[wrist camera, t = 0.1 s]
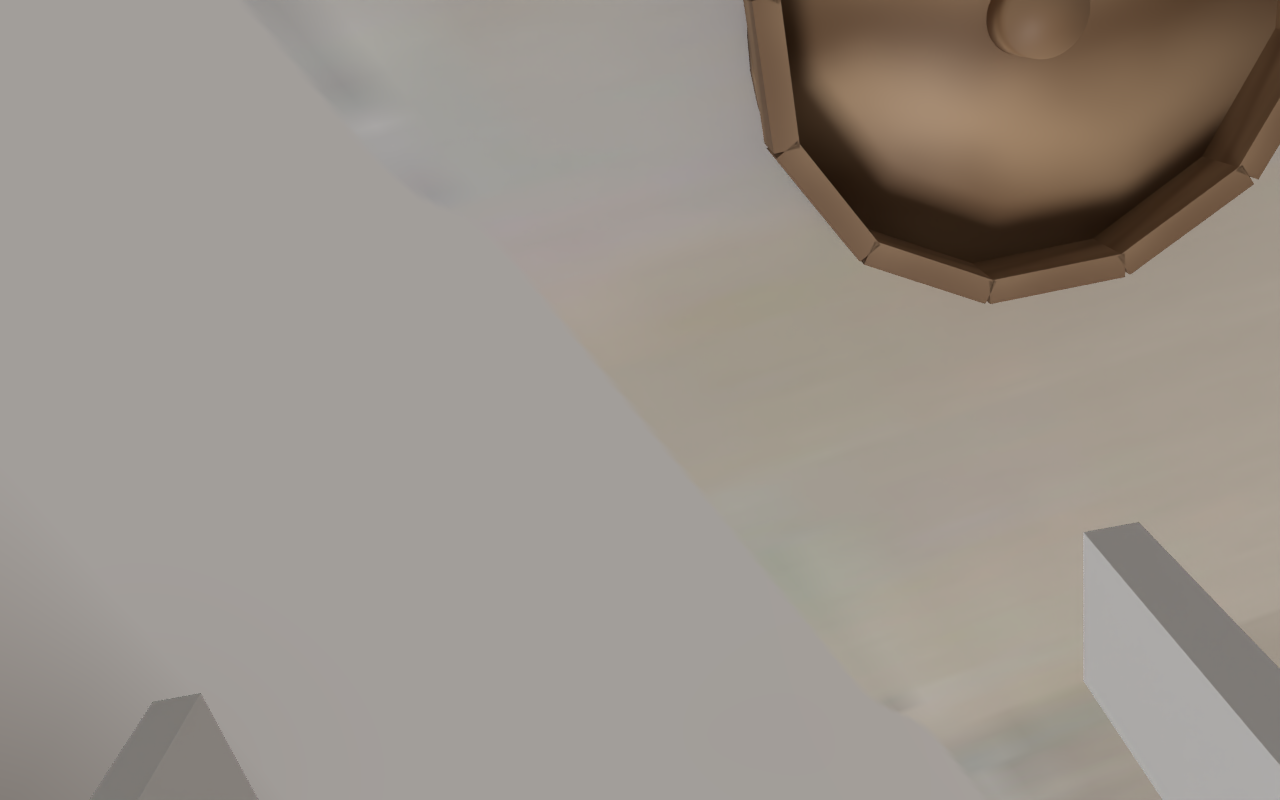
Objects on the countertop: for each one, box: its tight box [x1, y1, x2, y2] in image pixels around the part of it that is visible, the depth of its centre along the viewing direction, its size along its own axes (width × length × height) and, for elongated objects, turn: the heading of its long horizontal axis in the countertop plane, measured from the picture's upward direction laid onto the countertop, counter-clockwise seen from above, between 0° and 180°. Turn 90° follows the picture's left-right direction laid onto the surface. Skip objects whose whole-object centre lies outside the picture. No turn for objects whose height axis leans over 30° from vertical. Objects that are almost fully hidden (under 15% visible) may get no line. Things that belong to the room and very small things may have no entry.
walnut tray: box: [744, 0, 1280, 304], centre depth 34 cm, size 21×21×4 cm
